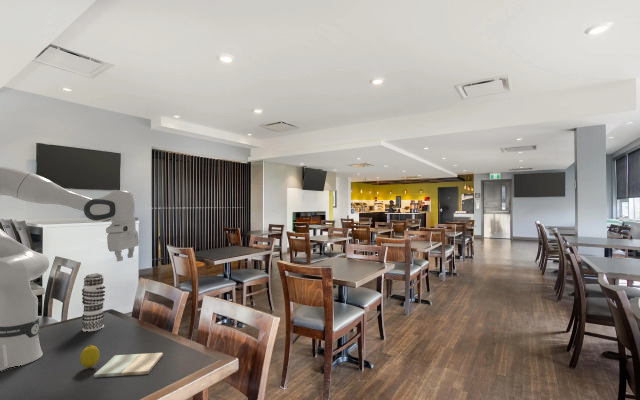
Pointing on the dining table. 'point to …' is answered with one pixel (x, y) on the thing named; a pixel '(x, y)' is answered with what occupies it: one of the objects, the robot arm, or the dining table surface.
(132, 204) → the robot arm
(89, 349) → the lemon
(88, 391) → the dining table surface
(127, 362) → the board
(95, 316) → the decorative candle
